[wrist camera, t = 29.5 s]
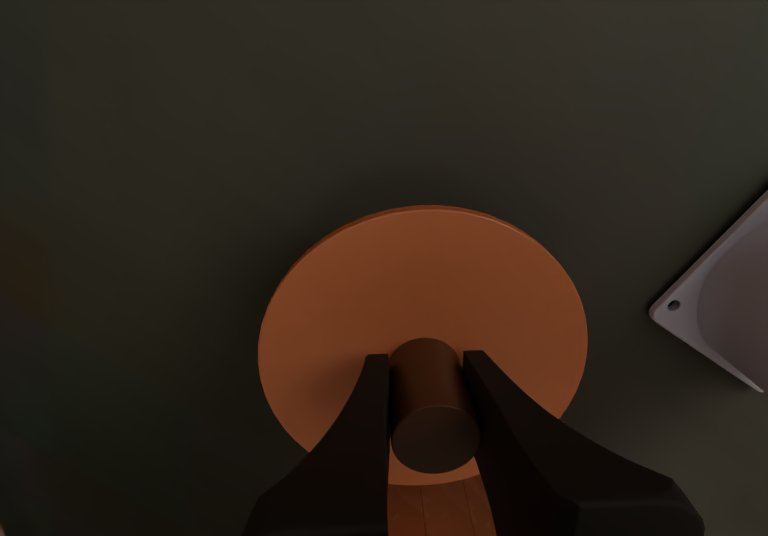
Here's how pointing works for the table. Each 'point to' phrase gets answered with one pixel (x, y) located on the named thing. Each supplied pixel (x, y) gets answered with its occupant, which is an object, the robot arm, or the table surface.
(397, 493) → the pot
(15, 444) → the table surface
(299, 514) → the robot arm
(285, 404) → the lid
